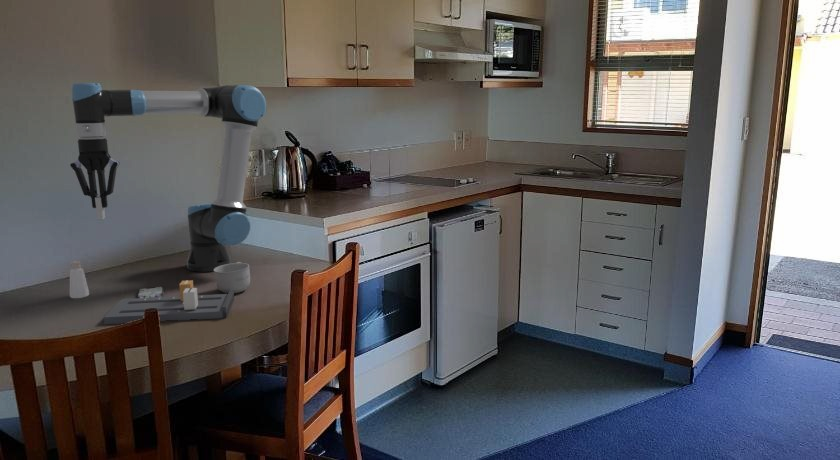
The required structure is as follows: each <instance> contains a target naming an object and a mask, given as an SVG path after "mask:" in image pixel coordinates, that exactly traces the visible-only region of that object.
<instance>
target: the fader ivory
mask: <svg viewBox="0 0 840 460" xmlns="http://www.w3.org/2000/svg"><path fill="white" fill-rule="evenodd" d="M197 295H198V288H197V287H193V288H186V289H185V290H184V292H183V301H184V310H192V309H196V308H197V306H198V296H197Z"/></svg>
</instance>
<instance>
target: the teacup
mask: <svg viewBox="0 0 840 460" xmlns="http://www.w3.org/2000/svg"><path fill="white" fill-rule="evenodd" d="M250 271H251V270H250V264H249V263H245V262H241V261H237V262H234V263H233V262H231V264H225V265H221V266H218V267H216V268H215V269H214V271H213V272H214V279H215V284H216V287H217V289H218V290H219V291H221V292H222V293H223V294H227V293H229V291H230V290H234V294H238V293H241V292H244V291H245V290H246V289H247V288H248V286H249V285H250V284H251V272H250Z"/></svg>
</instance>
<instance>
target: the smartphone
mask: <svg viewBox="0 0 840 460" xmlns="http://www.w3.org/2000/svg"><path fill="white" fill-rule="evenodd" d="M154 297H164V286H156V287H153V286H152V287H143V288H139V289H138V290H137V296H136V298H154Z"/></svg>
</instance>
